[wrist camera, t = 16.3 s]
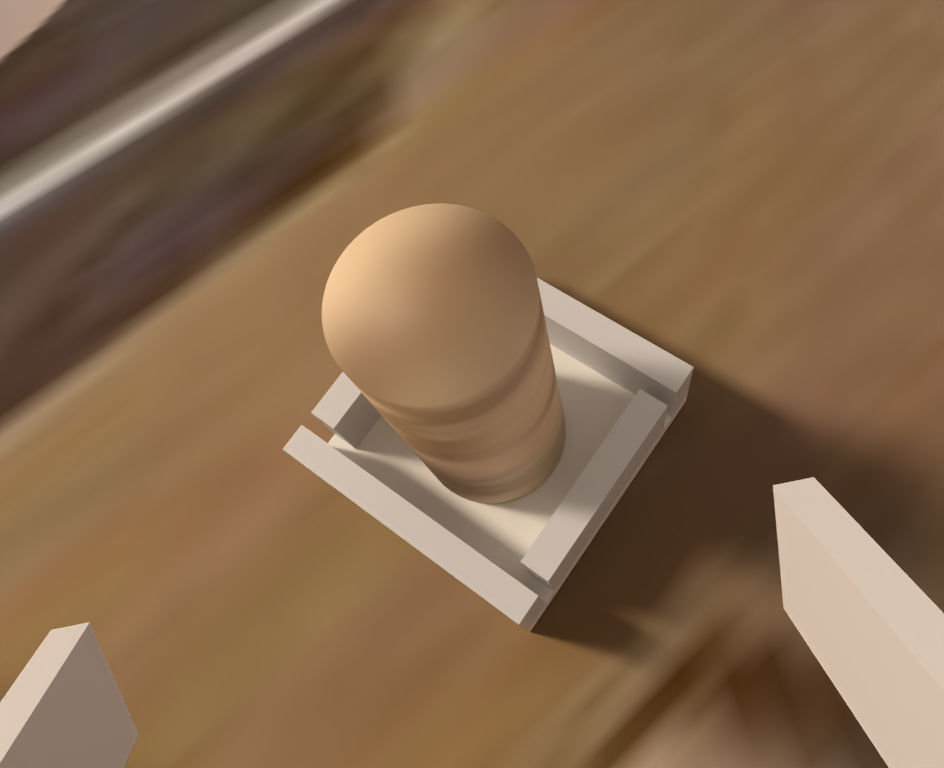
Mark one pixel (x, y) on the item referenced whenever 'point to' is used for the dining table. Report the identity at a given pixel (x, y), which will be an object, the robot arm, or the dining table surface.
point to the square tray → (549, 506)
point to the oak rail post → (451, 347)
